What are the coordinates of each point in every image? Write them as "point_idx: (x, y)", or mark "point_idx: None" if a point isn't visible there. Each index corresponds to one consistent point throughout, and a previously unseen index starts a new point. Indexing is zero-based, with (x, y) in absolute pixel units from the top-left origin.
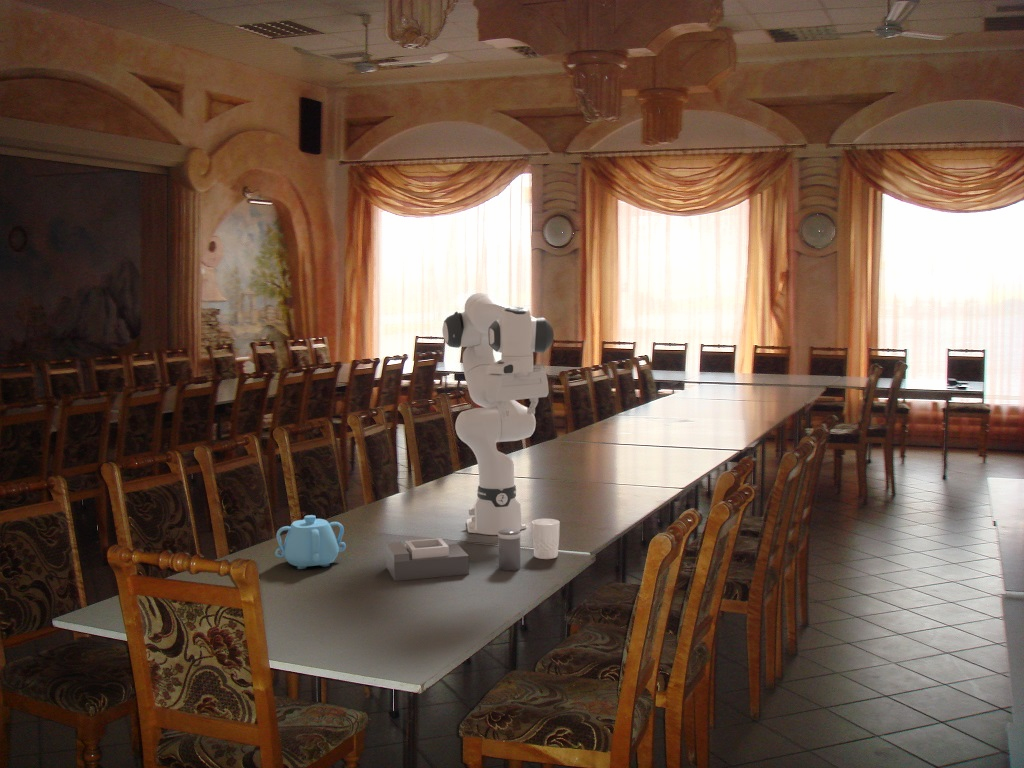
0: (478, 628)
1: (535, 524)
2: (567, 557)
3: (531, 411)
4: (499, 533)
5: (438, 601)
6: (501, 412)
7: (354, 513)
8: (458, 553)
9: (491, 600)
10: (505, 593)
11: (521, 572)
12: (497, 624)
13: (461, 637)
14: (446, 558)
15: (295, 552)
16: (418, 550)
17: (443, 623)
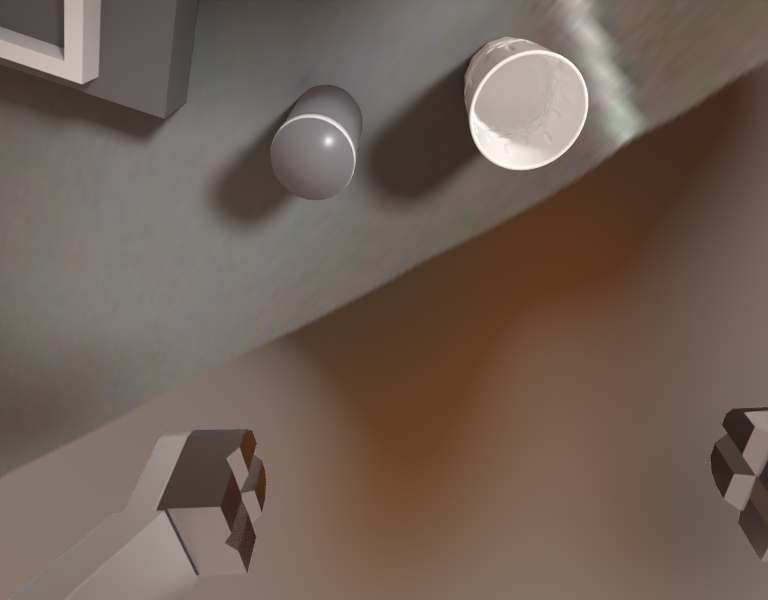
0: (80, 409)
1: (469, 120)
2: None
3: (741, 507)
4: (270, 156)
5: (38, 256)
6: (141, 493)
7: None
8: (140, 70)
9: (158, 313)
10: (207, 295)
11: None
12: (119, 412)
13: (40, 423)
14: (85, 92)
15: None
16: None
17: (22, 363)
